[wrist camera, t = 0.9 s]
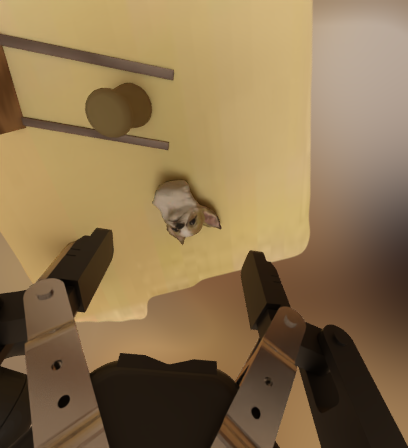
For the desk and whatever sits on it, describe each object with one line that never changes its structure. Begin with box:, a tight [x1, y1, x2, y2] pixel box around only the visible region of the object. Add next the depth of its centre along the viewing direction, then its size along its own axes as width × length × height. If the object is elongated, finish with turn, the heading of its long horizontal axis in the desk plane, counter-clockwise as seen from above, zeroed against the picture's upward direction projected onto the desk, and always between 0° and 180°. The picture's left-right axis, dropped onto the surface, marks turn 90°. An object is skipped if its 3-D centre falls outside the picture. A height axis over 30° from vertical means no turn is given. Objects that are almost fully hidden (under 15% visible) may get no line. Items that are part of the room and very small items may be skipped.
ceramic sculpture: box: [152, 180, 222, 245], centre depth 39 cm, size 11×9×15 cm
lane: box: [0, 34, 174, 150], centre depth 28 cm, size 12×26×9 cm, turn 80°
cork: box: [85, 83, 152, 138], centre depth 28 cm, size 6×6×11 cm
